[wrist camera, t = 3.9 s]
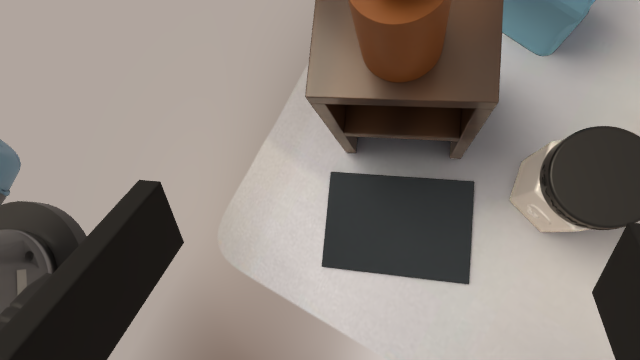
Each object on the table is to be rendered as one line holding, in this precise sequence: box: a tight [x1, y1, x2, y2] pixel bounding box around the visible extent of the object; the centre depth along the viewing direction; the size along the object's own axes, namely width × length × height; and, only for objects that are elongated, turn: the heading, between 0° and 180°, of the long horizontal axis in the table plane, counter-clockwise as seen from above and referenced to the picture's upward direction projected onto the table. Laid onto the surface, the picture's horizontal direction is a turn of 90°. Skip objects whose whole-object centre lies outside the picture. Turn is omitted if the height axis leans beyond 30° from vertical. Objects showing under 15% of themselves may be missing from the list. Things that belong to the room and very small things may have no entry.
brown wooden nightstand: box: [305, 0, 504, 159], centre depth 38 cm, size 13×10×20 cm
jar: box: [510, 126, 640, 232], centre depth 38 cm, size 9×8×12 cm
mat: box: [322, 172, 474, 284], centre depth 46 cm, size 16×11×1 cm
